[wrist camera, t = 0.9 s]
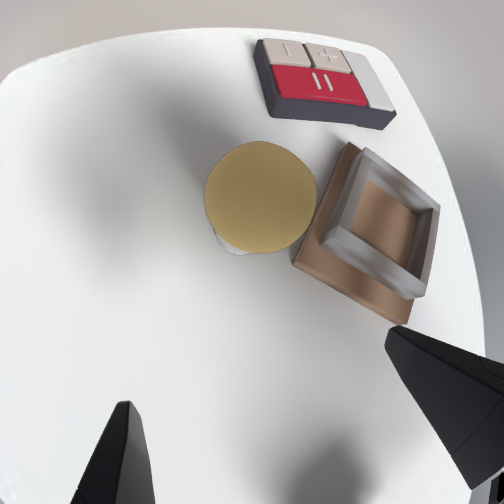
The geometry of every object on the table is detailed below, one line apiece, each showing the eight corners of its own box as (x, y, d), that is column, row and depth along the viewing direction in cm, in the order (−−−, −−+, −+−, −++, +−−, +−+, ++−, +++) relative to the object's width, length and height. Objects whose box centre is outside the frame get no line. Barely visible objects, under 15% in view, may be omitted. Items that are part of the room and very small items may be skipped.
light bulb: (181, 244, 22) (182, 183, 13) (226, 183, 24) (254, 103, 15) (251, 290, 22) (302, 261, 13) (289, 225, 25) (350, 167, 15)
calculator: (257, 33, 26) (367, 51, 29) (251, 59, 30) (354, 71, 34) (278, 95, 24) (401, 111, 27) (267, 123, 28) (383, 131, 31)
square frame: (424, 209, 29) (447, 197, 25) (396, 324, 25) (425, 322, 21) (342, 149, 28) (361, 127, 24) (292, 264, 24) (312, 252, 20)
